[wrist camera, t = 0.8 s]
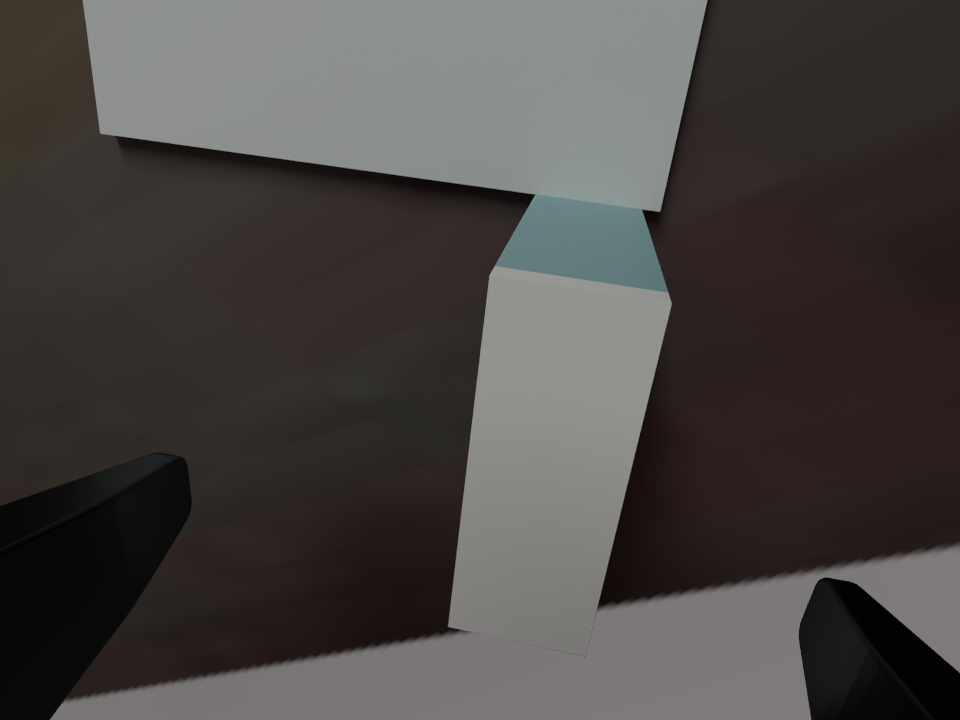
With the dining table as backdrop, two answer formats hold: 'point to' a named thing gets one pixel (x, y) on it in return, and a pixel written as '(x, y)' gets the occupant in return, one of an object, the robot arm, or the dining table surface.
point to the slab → (556, 420)
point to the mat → (411, 86)
